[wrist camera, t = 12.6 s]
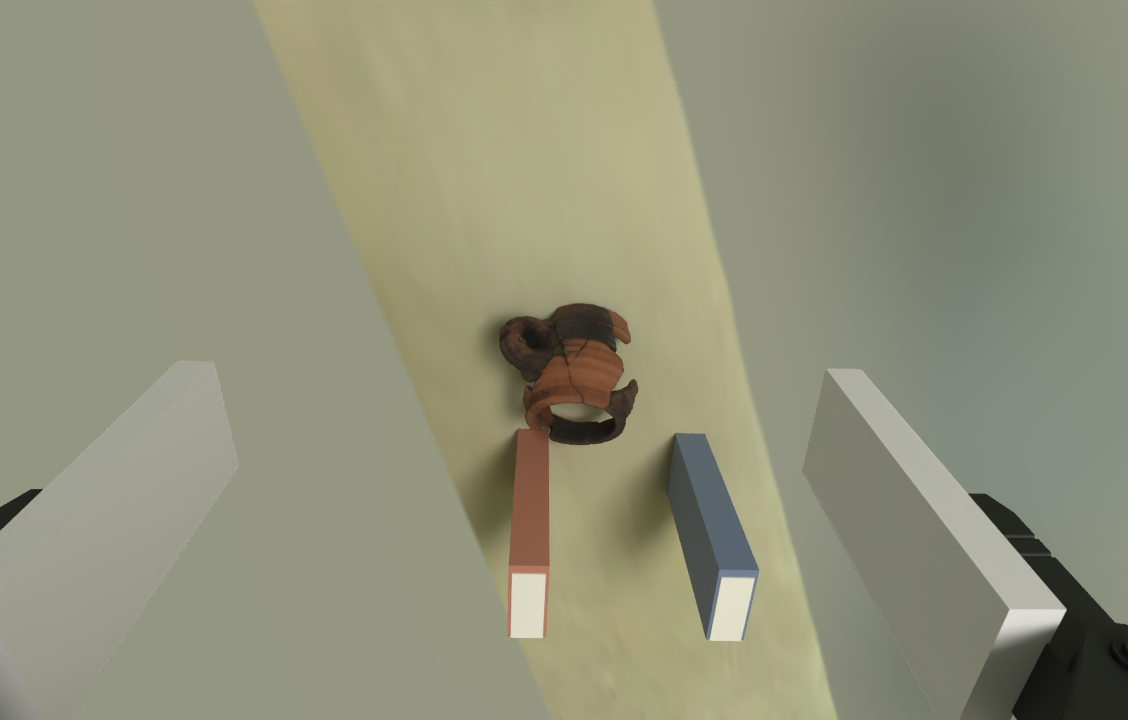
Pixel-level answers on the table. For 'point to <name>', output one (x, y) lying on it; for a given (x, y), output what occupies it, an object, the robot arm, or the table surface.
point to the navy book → (711, 540)
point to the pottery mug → (571, 370)
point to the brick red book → (529, 538)
